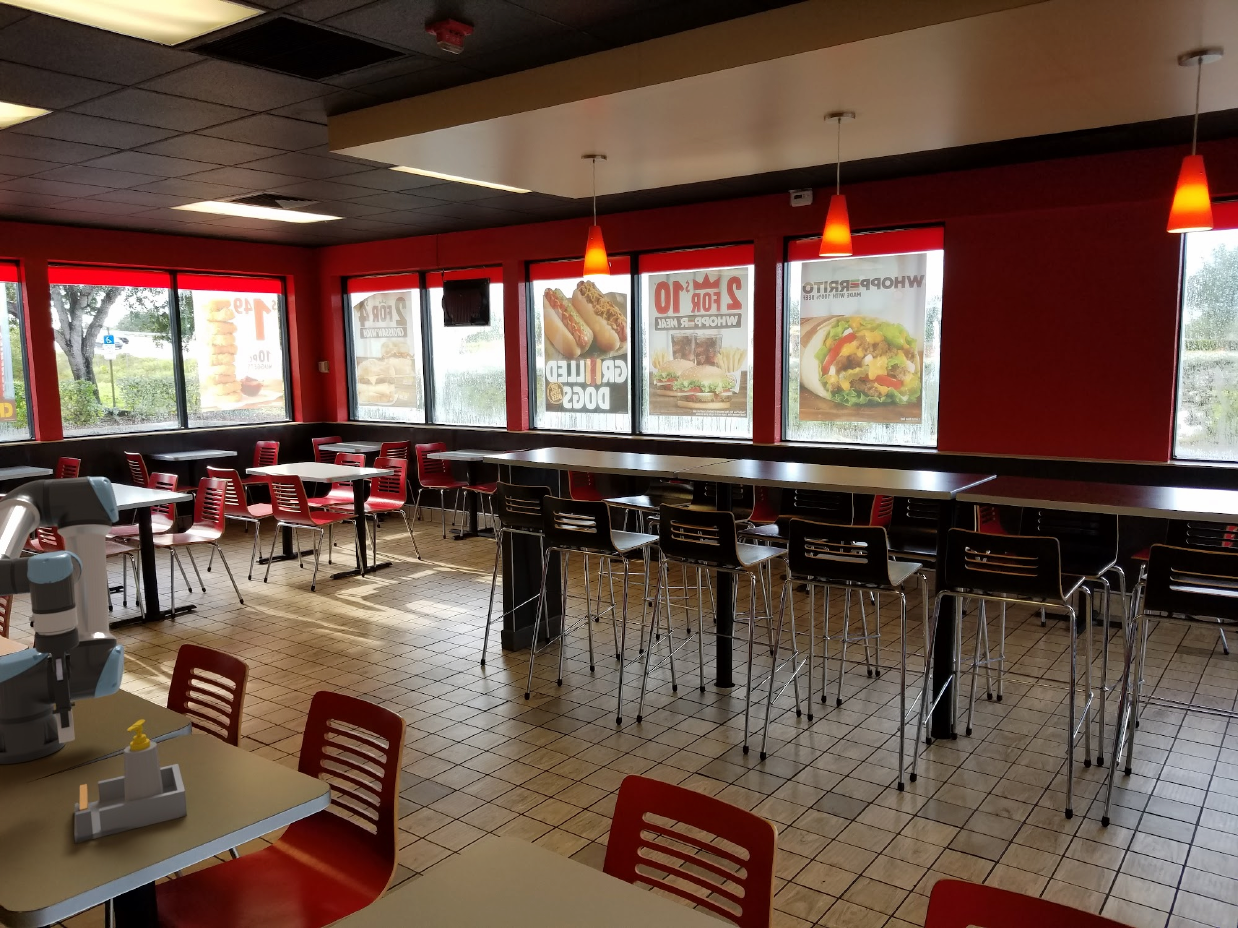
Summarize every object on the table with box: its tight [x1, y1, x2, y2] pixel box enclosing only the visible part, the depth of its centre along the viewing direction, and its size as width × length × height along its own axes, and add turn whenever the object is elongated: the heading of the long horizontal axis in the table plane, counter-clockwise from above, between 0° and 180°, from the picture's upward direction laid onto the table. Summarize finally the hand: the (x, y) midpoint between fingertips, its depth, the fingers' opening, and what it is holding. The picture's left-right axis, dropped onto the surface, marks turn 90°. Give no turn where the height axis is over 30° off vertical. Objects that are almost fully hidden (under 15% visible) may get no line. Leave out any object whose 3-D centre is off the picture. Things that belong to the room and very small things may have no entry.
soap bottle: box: [123, 718, 164, 803], centre depth 172 cm, size 7×7×18 cm
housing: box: [73, 763, 188, 844], centre depth 174 cm, size 15×19×5 cm
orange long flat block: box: [79, 783, 90, 811], centre depth 171 cm, size 12×1×4 cm, turn 31°
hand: (66, 740), depth 181 cm, fingers closed
